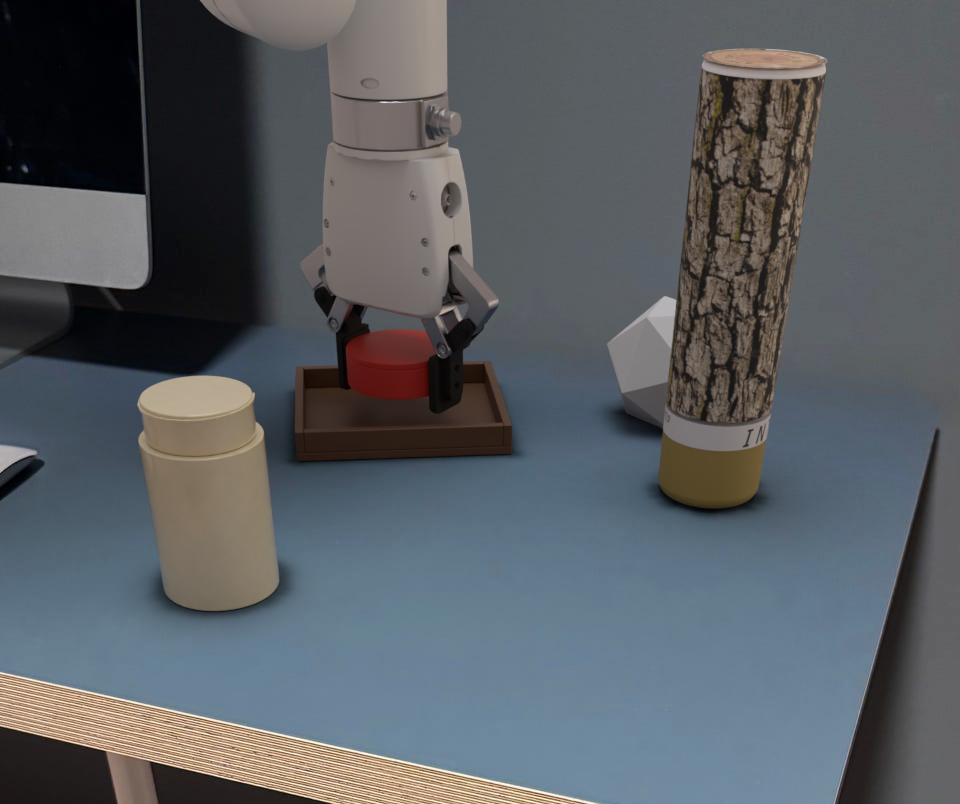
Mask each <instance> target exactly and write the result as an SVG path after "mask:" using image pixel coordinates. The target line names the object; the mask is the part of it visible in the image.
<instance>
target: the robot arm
mask: <svg viewBox="0 0 960 804" xmlns="http://www.w3.org/2000/svg"><path fill="white" fill-rule="evenodd" d="M199 1H200V2H201V3H202V5H203V6H204V7H205V8H206V9H207V10H208V12H210V13H211V14H212V15H213V16H214V17H215V18H216V19H217V20H219V21H221V22H222V23H223V24H225V25H227V26H229V27H230V28H233V29H235V30H237V31H239V32H241V33H243V34H246V35H248V36H251V37H253V38H256V39H258V40H261V41H262V42H263V43H266V44H268V45H270V46H273V47H275V48H278V49H281V50H283V51H291V52H305V51H309V50H313V49H317V48H319V47H321V46H323V45H325V44H326V46H327V47H326V50H327V66H328V81H329V95H330V96H329V97H330V109H331V111H330V112H331V113H330V114H331V125H332V127H331V128H332V142H330V143H328V144H327V147H326V156H325V157H326V158H325V162H324V163H325V165H324V176H323V189H322V242H321V243H320V244H319V245H318V246H317V247H316V248H315V249H314V250H312V252H310V253H309V254H308V255H307V256H306V257H304V259H303V260H302V261H301V262H300V263H299V269H300V271H301V273H302V275H303V278H304V279H305V281H306V282H307V284H308V286H309V287H310V290H311V291H313V298H314V301H315V302H316V304H317V305H318V307H319V308H320V309H321V311H322V313H323V314H324V315H325V317H326V318H327V319H326V326H327V328H328V329H329V331H330V332H332V333H333V334H335V344H336V358H337V365H338V372H339V386H340V388H341V389H345V390H349V389H351V387H350V386H349V384H348V376H347V360H346V345H347V343H348V342H349V341H350V340H352V339H353V338H355V337H358V336H360V335H362V334H366V333H370V332H371V330H370V325H369V323H364V322H362V321H363V319H364V317H365V314H366V313H367V310H368V308H372V309H375V310H380V311H384V312H389V313H392V314H397V315H402V316H407V317H411V318H417V319H420V321H421V323H422V325H423V328H424V330H425V332H427V334H428V337H429V339H430V341H431V343H432V346H433V348H434V350H435V352H436V354H435V355H433V356H431V357H429V360H428V377H429V409H430V410H431V412H432V413H436V414H440V413H442V412H444V411H446V410H448V409H449V408H451V407H453V406H455V405H457V404H459V403H460V401H461V397H462V392H463V362H464V350H466V349H468V348H469V347H470V345H471V344H472V342H473V341H474V340H475V339H476V338H477V337H478V336H479V335H480V334H481V333H482V332H483V330H484V329H485V325H486V324H487V323H488V322H489V320H490V319H491V317H492V316H493V315H494V313H495V312H496V310H497V309H498V308H499V305H500V301H499V298H498V296H497V295H496V294H495V292H494V291H493V290H492V289H491V287H489V286H488V284H487V283H486V282H485V281H484V279H482V277H481V276H480V275H479V274H478V272H477V271H476V270H475V269H474V253H473V252H474V251H473V249H474V248H473V235H472V222H471V212H470V202H469V195H468V189H467V183H466V177H465V171H464V167H463V162H462V158H461V154H460V150H459V149H458V148H456V147H455V148H454V147H450V146H449V141H450V137H457V136H458V135H459V134H460V132H461V130H462V125H463V124H462V117H461V114H460V113H459V112H457V111H451V109H450V103H449V102H450V101H449V92H448V0H199ZM465 304H467V305H468V306H467V307H468V308H467V311H466V312H465V315H464V316H463V317H462V314H461V312H460V310H459V307H458V306H462V305H465ZM446 329H447V330H446Z"/></svg>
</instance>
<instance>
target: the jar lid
mask: <svg viewBox="0 0 960 804" xmlns="http://www.w3.org/2000/svg"><path fill="white" fill-rule="evenodd" d="M435 354H436V352H435V350H434V348H433V346H432V343H431V341H430V339H429V337H428V334H427V332H426V330H425V331H424V330H419V329H409V328H408V329H405V328H404V329H403V328H397V329H395V328H394V329H382V330H375V331H370V333H366V334H362V335H360V336H358V337H355V338H353V339H352V340H350V341H349V342H348V343H347V345H346V360H347V376H348V384H349V386H350V387H351V388H352V389H353V390H355V391H356V392H358V393H360V394H363V395H366V396H370V397H375V398H381V399H393V400H406V399H416V398H422V397H427V396H429V377H428V360H429V357H431V356H433V355H435Z"/></svg>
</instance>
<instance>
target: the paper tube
mask: <svg viewBox="0 0 960 804" xmlns="http://www.w3.org/2000/svg"><path fill="white" fill-rule="evenodd" d="M702 57H703V61H702V63H701V66H700V73H699V74H700V75H699V84H698V94H697V104H696V112H695V113H696V114H695V122H694V132H693V141H692V151H691V160H690V169H689V177H688V178H689V179H688V188H687V197H686V206H685V217H684V226H683V236H682V245H681V255H680V264H679V273H678V281H677V290H676V291H677V292H676V299H675V300H676V310H675V319H674V329H673V338H672V347H671V357H670V366H669V376H668V385H667V395H666V404H665V413H664V423H663V428H662V436H661V446H660V447H661V448H660V455H659V464H658V475H657V481H658V486H659V487H660V488H661V490H662V492H663V493H664V494H665V495H666V496H667V497H669V498H670V499H672V500H674V501H675V502H677V503H680V504H683V505H686V506H689V507H694V508H699V509H712V510H713V509H714V510H715V509H728V508H733V507H737V506H740V505H742V504H744V503H746V502H748V501H750V500H751V499H752V498H753V497H754V496H755V495H756V494H757V492H758V490H759V487H760V481H761V475H762V470H763V464H764V456H765V450H766V445H767V439H768V435H769V428H770V423H771V422H770V421H771V417H772V408H773V405H774V398H775V392H776V385H777V381H778V380H777V379H778V374H779V373H778V372H779V367H780V360H781V355H782V348H783V342H784V341H783V340H784V335H785V329H786V323H787V317H788V310H789V305H790V299H791V293H792V287H793V280H794V274H795V267H796V261H797V255H798V249H799V242H800V238H801V237H800V236H801V231H802V224H803V217H804V212H805V205H806V199H807V192H808V187H809V181H810V175H811V170H812V169H811V168H812V162H813V157H814V149H815V144H816V138H817V132H818V126H819V125H818V124H819V119H820V113H821V107H822V101H823V94H824V87H825V83H826V82H825V81H826V76H827V67H826V64H827V63H828V59H827V58H826V57H823V56H821V55H819V54H813V53H808V52H803V51H795V50H788V49H787V50H786V49H774V48H773V49H771V48H729V49H718V50H712V51H708V52H706V53H704V54H703V55H702Z"/></svg>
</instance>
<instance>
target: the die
mask: <svg viewBox="0 0 960 804" xmlns="http://www.w3.org/2000/svg"><path fill="white" fill-rule="evenodd" d="M676 300H677V299H675V298H672V297H669V296H666V295H664V296H663V297H661V298H660V299H659V300H658V301H657V302H655V303H654V304H653V305H651V306H650V308H647V310H646V311H644V312H643V313H641V314H640V315H639V316H638V317H637V318H636V319H635V320H634V321H632V322H631V323H630V324H629V325H627V326H626V327H625V328H624V329H622V331H620V332H619V333H618V334H617V335H615V337H613V338H612V339H611V340H609V341H608V342H607V343H606V345H607V350H608V353H609V356H610V361H611V364H612V367H613V372H614V375H615V378H616V382H617V385H618V389H619V393H620V398H621V401H622V404H623V408H624V411H625V414H626V415H630V416H632V417H635V418H636V419H638V420H642V421H644V422H646V423H648V424H651V425H653V426H656V427H658V428H660V429H663V423H664V413H665V404H666V395H667V385H668V376H669V366H670V357H671V347H672V338H673V329H674V319H675V310H676Z"/></svg>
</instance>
